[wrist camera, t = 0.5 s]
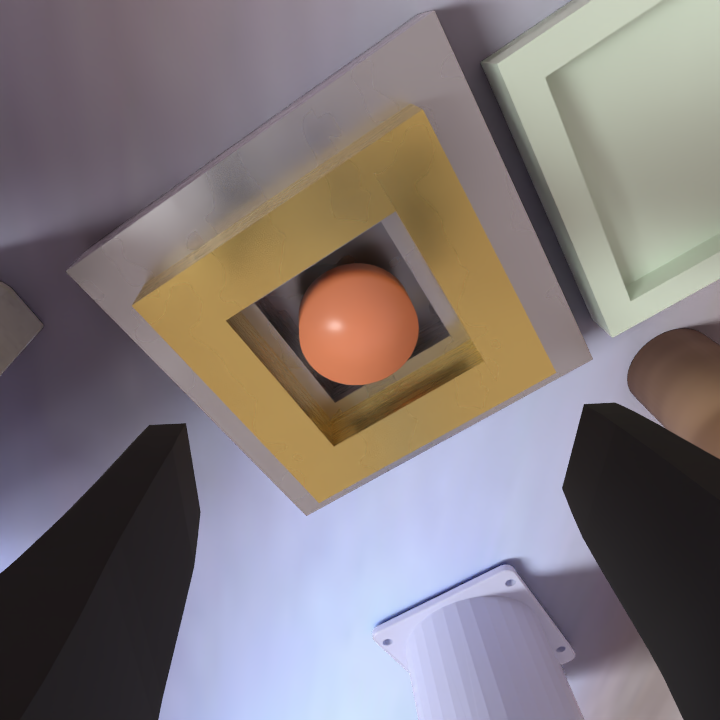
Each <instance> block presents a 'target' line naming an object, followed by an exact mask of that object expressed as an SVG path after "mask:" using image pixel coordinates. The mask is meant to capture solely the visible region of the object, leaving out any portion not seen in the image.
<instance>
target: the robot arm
mask: <svg viewBox="0 0 720 720" xmlns="http://www.w3.org/2000/svg"><path fill="white" fill-rule="evenodd" d="M562 489H563V492H564V494H565V497H566V499H567V502H568V504H569V507H570V509H571V512H572V514H573V517H574V519H575V521H576V523H577V526H578V528H579V530H580V532H581V535H582V537H583V539H584V541H585V542H586V544H587V546H588V548H589V549H590V551H591V553H592V555H593V556H594V558H595V560H596V562H597V563H598V565H599V567H600V568H601V570H602V572H603V574H604V575H605V577H606V579H607V580H608V582H609V584H610V585H611V587H612V589H613V590H614V592H615V594H616V596H617V597H618V599H619V601H620V602H621V604H622V606H623V607H624V609H625V611H626V612H627V614H628V616H629V617H630V619H631V621H632V622H633V624H634V626H635V628H636V629H637V631H638V633H639V634H640V636H641V638H642V639H643V641H644V643H645V644H646V646H647V648H648V649H649V651H650V653H651V655H652V657H653V659H654V661H655V662H656V664H657V666H658V668H659V670H660V672H661V673H662V675H663V677H664V679H665V681H666V683H667V686H668V688H669V690H670V692H671V694H672V696H673V698H674V700H675V702H676V705H677V707H678V709H679V711H680V713H681V715H682V717H683V719H684V720H720V459H719V458H717V457H715V456H713V455H711V454H710V453H708V452H706V451H704V450H703V449H701V448H699V447H697V446H695V445H694V444H692V443H690V442H688V441H687V440H685V439H683V438H681V437H679V436H678V435H676V434H674V433H672V432H671V431H669V430H667V429H665V428H663V427H662V426H660V425H658V424H656V423H654V422H653V421H651V420H649V419H647V418H645V417H643V416H642V415H640V414H638V413H636V412H634V411H632V410H630V409H628V408H626V407H624V406H621V405H619V404H617V403H600V404H584V407H583V410H582V414H581V418H580V422H579V426H578V430H577V433H576V437H575V441H574V445H573V449H572V453H571V456H570V460H569V464H568V468H567V472H566V476H565V480H564V483H563V487H562ZM199 520H200V506H199V500H198V494H197V488H196V482H195V476H194V470H193V464H192V458H191V452H190V446H189V440H188V434H187V428H186V423H184V424H163V425H149V426H148V427H147V428H146V429H145V430H144V431H143V432H142V433H141V434H140V435H139V436H138V437H137V438H136V439H135V441H134V442H133V443H132V444H131V445H130V446H129V447H128V448H127V449H126V450H125V451H124V452H123V454H122V455H121V456H120V457H119V458H118V459H117V460H116V461H115V462H114V463H113V464H112V466H111V467H110V468H109V469H108V470H107V471H106V472H105V473H104V474H103V475H102V476H101V477H100V478H99V479H98V481H97V482H96V483H95V484H94V485H93V486H92V487H91V488H90V489H89V490H88V491H87V492H86V493H85V494H84V495H83V496H82V497H81V498H80V499H79V500H78V501H77V502H76V503H75V504H74V505H73V506H72V507H71V508H70V509H69V510H68V511H67V512H66V513H65V514H64V515H63V516H62V517H61V518H60V519H59V520H58V521H57V522H56V523H55V524H54V525H53V526H52V527H51V528H50V529H49V530H48V531H47V532H45V533H44V534H43V535H42V536H41V537H40V538H39V539H38V540H37V541H36V542H35V543H34V544H33V545H32V546H31V547H30V548H28V549H27V550H26V551H25V552H24V553H23V554H22V555H21V556H20V557H19V558H18V559H17V560H15V561H14V562H13V563H12V564H11V565H10V566H9V567H7V568H6V569H5V570H4V571H3V572H2V573H0V720H158V718H159V713H160V708H161V703H162V698H163V694H164V690H165V686H166V682H167V677H168V673H169V669H170V665H171V661H172V657H173V653H174V649H175V644H176V640H177V636H178V632H179V628H180V624H181V620H182V615H183V611H184V607H185V603H186V599H187V594H188V590H189V586H190V582H191V577H192V573H193V569H194V563H195V555H196V547H197V539H198V529H199ZM372 637H373V640H374V641H375V642H376V643H377V644H378V645H379V646H380V647H381V648H382V649H384V650H385V651H386V652H387V653H388V654H389V655H390V656H391V657H392V658H393V659H394V660H395V661H397V662H398V663H399V664H400V665H401V666H402V667H403V668H404V669H405V670H406V671H407V672H409V674H410V679H411V685H412V690H413V695H414V700H415V705H416V711H417V716H418V720H584V717H583V715H582V713H581V710H580V708H579V706H578V704H577V701H576V699H575V697H574V695H573V692H572V690H571V688H570V685H569V683H568V681H567V679H566V676H565V674H564V672H563V669H562V667H561V665H563V664H565V663H567V662H570V661H571V660H573V659H574V658H575V652H574V650H573V648H572V647H571V645H570V644H569V643H568V641H567V640H566V639H565V637H564V636H563V634H562V633H561V632H560V630H559V629H558V628H557V626H556V625H555V624H554V622H553V621H552V619H551V618H550V617H549V615H548V614H547V613H546V611H545V610H544V609H543V607H542V606H541V604H540V603H539V602H538V600H537V599H536V598H535V596H534V595H533V594H532V592H531V591H530V590H529V588H528V587H527V585H526V584H525V583H524V581H523V580H522V579H521V577H520V576H519V575H518V573H517V572H516V570H515V569H514V568H513V567H512V566H511V565H501V566H499V567H497V568H495V569H493V570H491V571H488V572H486V573H484V574H482V575H480V576H478V577H476V578H474V579H472V580H470V581H468V582H466V583H464V584H462V585H460V586H458V587H456V588H454V589H452V590H450V591H448V592H446V593H444V594H442V595H440V596H438V597H436V598H433V599H431V600H429V601H427V602H425V603H423V604H421V605H419V606H417V607H415V608H413V609H411V610H409V611H407V612H405V613H403V614H401V615H399V616H397V617H395V618H393V619H391V620H389V621H387V622H385V623H383V624H380V625H378V626H377V627H375V628H374V629H373V631H372Z"/></svg>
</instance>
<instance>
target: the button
mask: <svg viewBox="0 0 720 720" xmlns="http://www.w3.org/2000/svg"><path fill="white" fill-rule="evenodd" d="M418 333H419V323H418V318H417V314H416V311H415V309H414V306H413V304H412V302H411V300H410V298H409V296H408V294H407V292H406V290H405V288H404V287H403V285H402V284H401V282H400V281H399V280H398V279H397V278H396V277H395V276H393V275H392V274H391V273H390V272H388V271H386V270H384V269H382V268H380V267H377V266H374V265H370V264H364V263H351V264H344V265H341V266H337V267H335V268H332V269H330V270H328V271H326V272H325V273H323V274H322V275H320V276H319V277H318V278H317V279H316V280H314V281H313V282H312V284H311V285H310V286H309V287H308V289H307V290H306V292H305V294H304V296H303V298H302V300H301V304H300V307H299V340H300V346H301V349H302V352H303V354H304V356H305V358H306V360H307V361H308V363H309V364H310V365H311V366H312V367H313V369H314V370H316V371H317V372H318V373H319V374H321V375H322V376H324V377H325V378H327V379H329V380H332V381H334V382H337V383H341V384H346V385H364V384H370V383H374V382H377V381H380V380H383V379H385V378H387V377H389V376H390V375H392V374H393V373H395V372H396V371H397V370H399V369H400V368H401V367H402V366H403V365H404V364H405V363H406V362H407V360H408V359H409V357H410V356H411V354H412V352H413V351H414V348H415V346H416V343H417V339H418Z"/></svg>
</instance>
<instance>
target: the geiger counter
mask: <svg viewBox="0 0 720 720" xmlns="http://www.w3.org/2000/svg"><path fill="white" fill-rule="evenodd" d="M42 328H43V324H42V323H41V321H40V320H39V319H38V318H37V317H36V316H35V315H34V313H33V312H32V311H31V310H30V309H29V308H28V307H27V305H26V304H25V303H24V302H23V301H22V300H21V298H20V297H19V296H18V295H17V294H16V293H15V292H14V290H13V289H12V288H11V287H9V286H7V285H6V284H4V283H3V282H1V281H0V376H1V375H2V373H3V372H4V371H5V370H6V369H7V368H8V367H9V365H10V364H11V363H12V362H13V361H14V360H15V359H16V358H17V356H18V355H19V354H20V353H21V352H22V351H23V350H24V349H25V347H26V346H27V345H28V344H29V343H30V342H31V341H32V339H33V338H34V337H35V336H36V335H37V334H38V333H39V332H40V330H41V329H42Z"/></svg>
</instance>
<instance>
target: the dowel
mask: <svg viewBox="0 0 720 720" xmlns="http://www.w3.org/2000/svg"><path fill="white" fill-rule="evenodd" d="M627 382H628V387H629V389H630V391H631V393H632V394H633V395H634V396H635V397H636V399H637V400H638V401H639V402H640V403H641V404H642V405H643V406H644V407H645V408H646V409H647V410H648V411H649V412H650V413H651V414H652V415H653V416H654V417H655V418H656V419H657V420H658V421H659V422H660V423H661V424H662V425H663V426H664V427H665V428H666V429H667V430H669V431H671V432H672V433H674V434H676V435H678V436H679V437H681V438H683V439H685V440H687V441H688V442H690V443H692V444H694V445H695V446H697V447H699V448H701V449H703V450H704V451H706V452H708V453H710V454H711V455H713V456H715V457H717V458H719V459H720V345H718V344H717V343H715V342H714V341H712V340H711V339H710V338H708V337H707V336H705V335H704V334H702V333H701V332H699V331H697V330H693V329H675V330H671V331H668V332H665V333H663V334H661V335H659V336H657V337H655V338H654V339H652V340H651V341H649V342H648V343H647V344H646V345H645V346H643V347H642V349H641V350H640V351H639V352H638V353H637V354H636V356H635V357H634V359H633V361H632V363H631V365H630V367H629V370H628V376H627Z"/></svg>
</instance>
